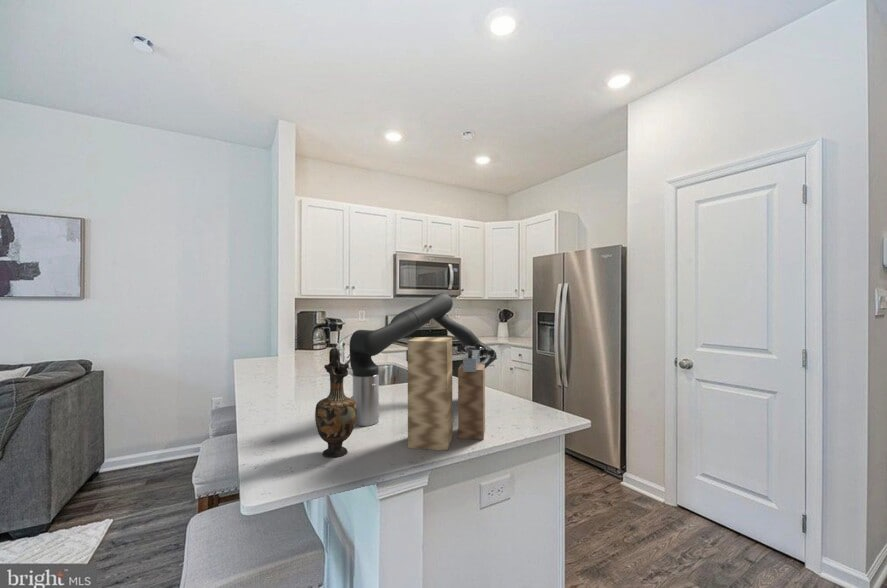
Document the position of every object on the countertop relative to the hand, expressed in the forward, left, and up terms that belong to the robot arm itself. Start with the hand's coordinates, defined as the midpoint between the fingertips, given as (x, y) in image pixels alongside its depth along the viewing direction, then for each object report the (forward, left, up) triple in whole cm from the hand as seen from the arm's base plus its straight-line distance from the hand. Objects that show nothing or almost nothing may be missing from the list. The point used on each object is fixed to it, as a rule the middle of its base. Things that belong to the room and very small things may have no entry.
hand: (473, 349), depth 142 cm
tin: (+1, -13, -4) cm, 14 cm away
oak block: (-11, -24, -26) cm, 37 cm away
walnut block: (+1, -15, -26) cm, 30 cm away
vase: (-37, -36, -26) cm, 58 cm away
